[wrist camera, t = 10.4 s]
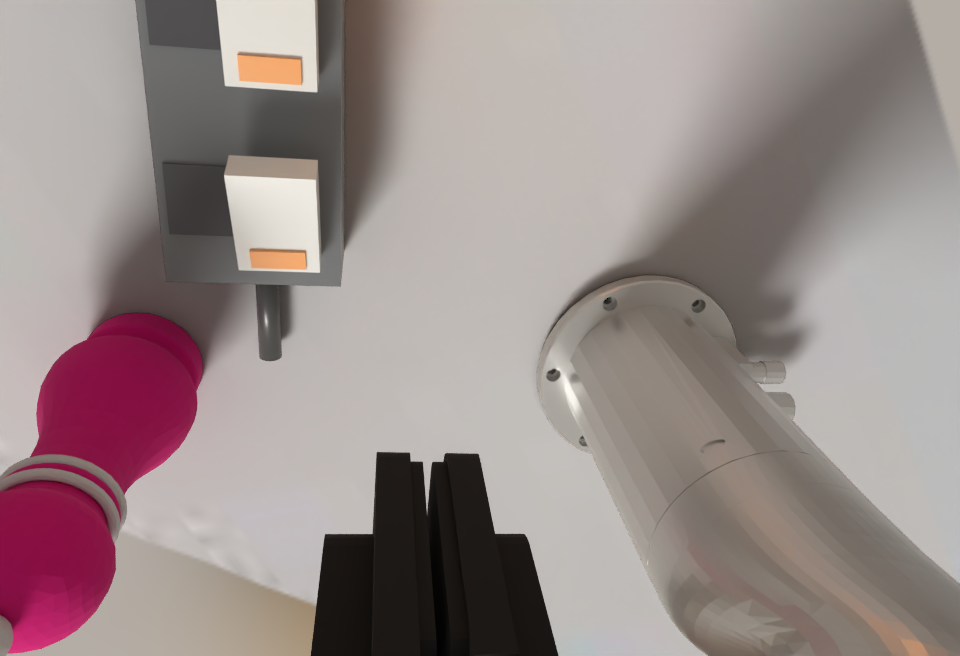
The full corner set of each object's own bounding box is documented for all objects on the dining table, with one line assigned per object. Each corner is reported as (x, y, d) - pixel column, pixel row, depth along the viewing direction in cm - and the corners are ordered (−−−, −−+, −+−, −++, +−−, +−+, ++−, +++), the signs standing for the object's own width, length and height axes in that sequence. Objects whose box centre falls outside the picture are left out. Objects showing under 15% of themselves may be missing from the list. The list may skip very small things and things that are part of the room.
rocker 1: (316, -57, 27) (313, -49, 26) (319, 80, 30) (317, 93, 29) (216, -67, 26) (209, -59, 25) (230, 74, 29) (224, 87, 28)
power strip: (346, -311, 29) (341, -371, 24) (343, 348, 42) (339, 397, 37) (135, -345, 27) (84, -415, 23) (199, 346, 40) (176, 397, 35)
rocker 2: (317, 159, 30) (315, 181, 29) (321, 252, 34) (319, 274, 33) (228, 155, 29) (223, 177, 28) (242, 249, 33) (238, 272, 32)
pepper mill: (65, 301, 38) (-201, 584, 20) (207, 304, 39) (72, 573, 21) (86, 416, 41) (-129, 748, 23) (217, 415, 42) (106, 731, 25)
